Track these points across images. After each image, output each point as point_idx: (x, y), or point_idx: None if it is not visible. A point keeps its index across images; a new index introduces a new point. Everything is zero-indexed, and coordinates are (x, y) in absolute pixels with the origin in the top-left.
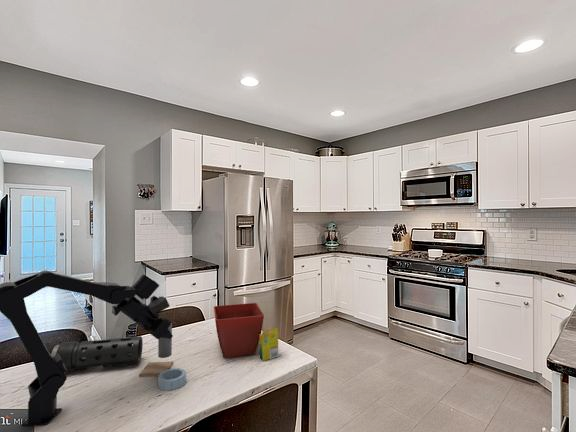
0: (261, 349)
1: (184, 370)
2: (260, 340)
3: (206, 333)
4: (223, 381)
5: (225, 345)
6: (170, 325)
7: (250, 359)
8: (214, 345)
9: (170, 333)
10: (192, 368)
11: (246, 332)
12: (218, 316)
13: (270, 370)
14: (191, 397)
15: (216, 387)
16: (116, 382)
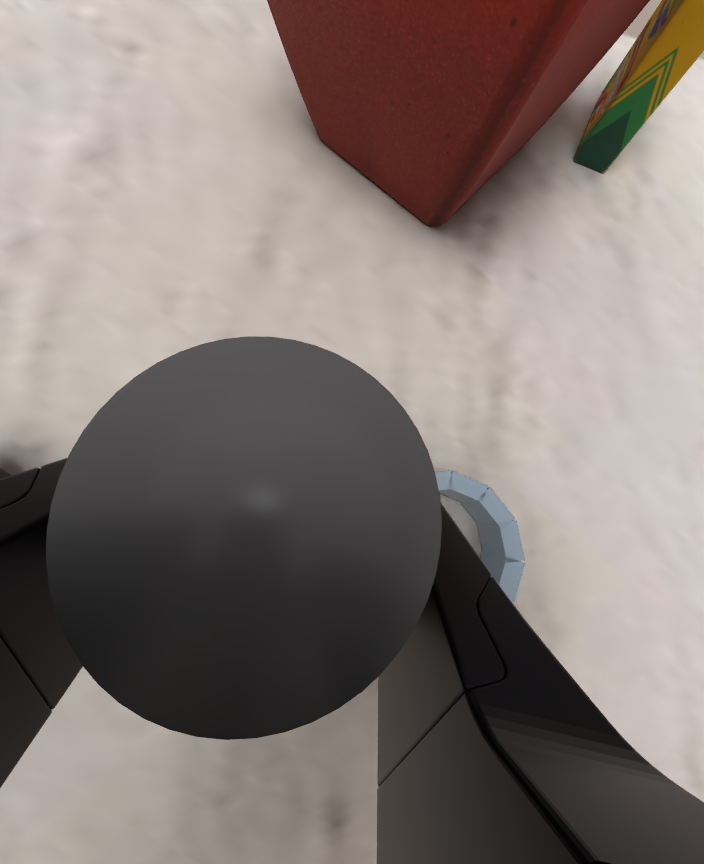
0: (639, 112)
1: (464, 476)
2: (673, 48)
3: (108, 60)
4: (611, 391)
5: (488, 168)
6: (422, 467)
7: (545, 183)
8: (274, 149)
9: (444, 518)
10: (385, 381)
11: (634, 2)
12: None
13: (689, 220)
14: (617, 574)
15: (630, 446)
16: (138, 734)
